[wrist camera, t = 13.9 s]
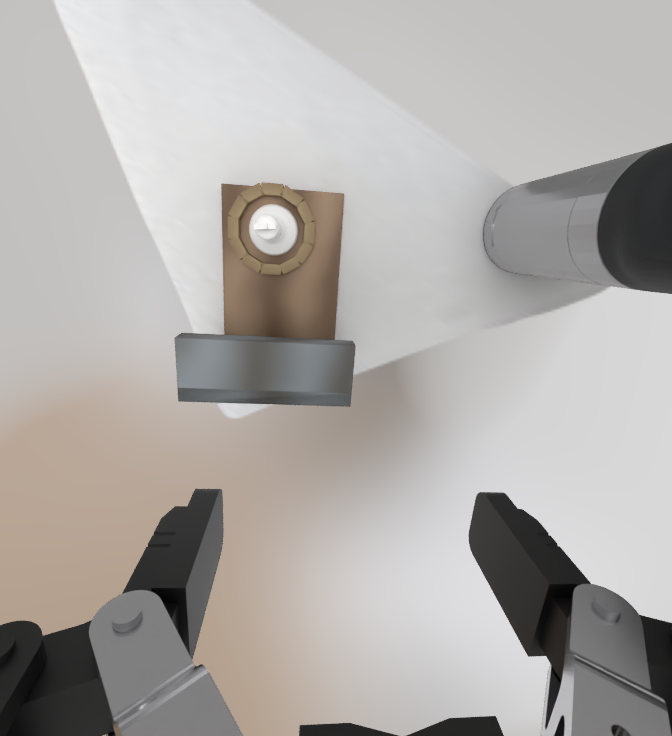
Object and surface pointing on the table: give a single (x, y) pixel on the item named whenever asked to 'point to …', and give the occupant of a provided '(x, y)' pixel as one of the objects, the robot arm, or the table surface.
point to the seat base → (274, 310)
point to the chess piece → (273, 229)
